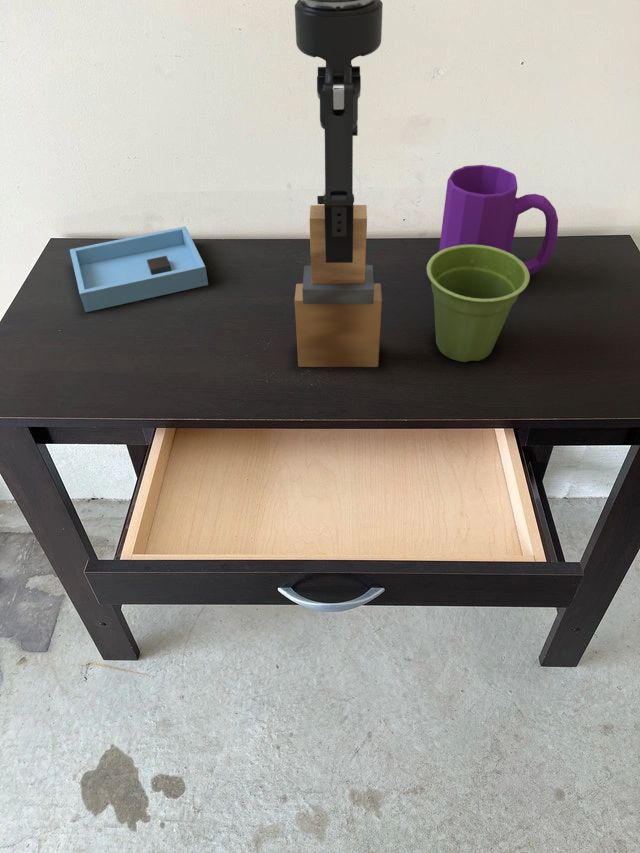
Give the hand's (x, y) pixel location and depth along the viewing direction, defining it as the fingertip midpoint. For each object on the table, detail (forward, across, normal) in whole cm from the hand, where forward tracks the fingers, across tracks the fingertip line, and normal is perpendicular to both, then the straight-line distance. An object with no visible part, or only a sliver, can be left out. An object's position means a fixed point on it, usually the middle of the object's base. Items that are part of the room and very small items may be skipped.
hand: (339, 227), depth 71 cm
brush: (+8, 0, 0) cm, 8 cm away
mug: (+18, +18, -22) cm, 34 cm away
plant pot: (+18, +2, -16) cm, 25 cm away
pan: (+18, +19, +30) cm, 40 cm away
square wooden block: (+18, 0, 0) cm, 18 cm away
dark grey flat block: (+18, +20, +27) cm, 38 cm away
